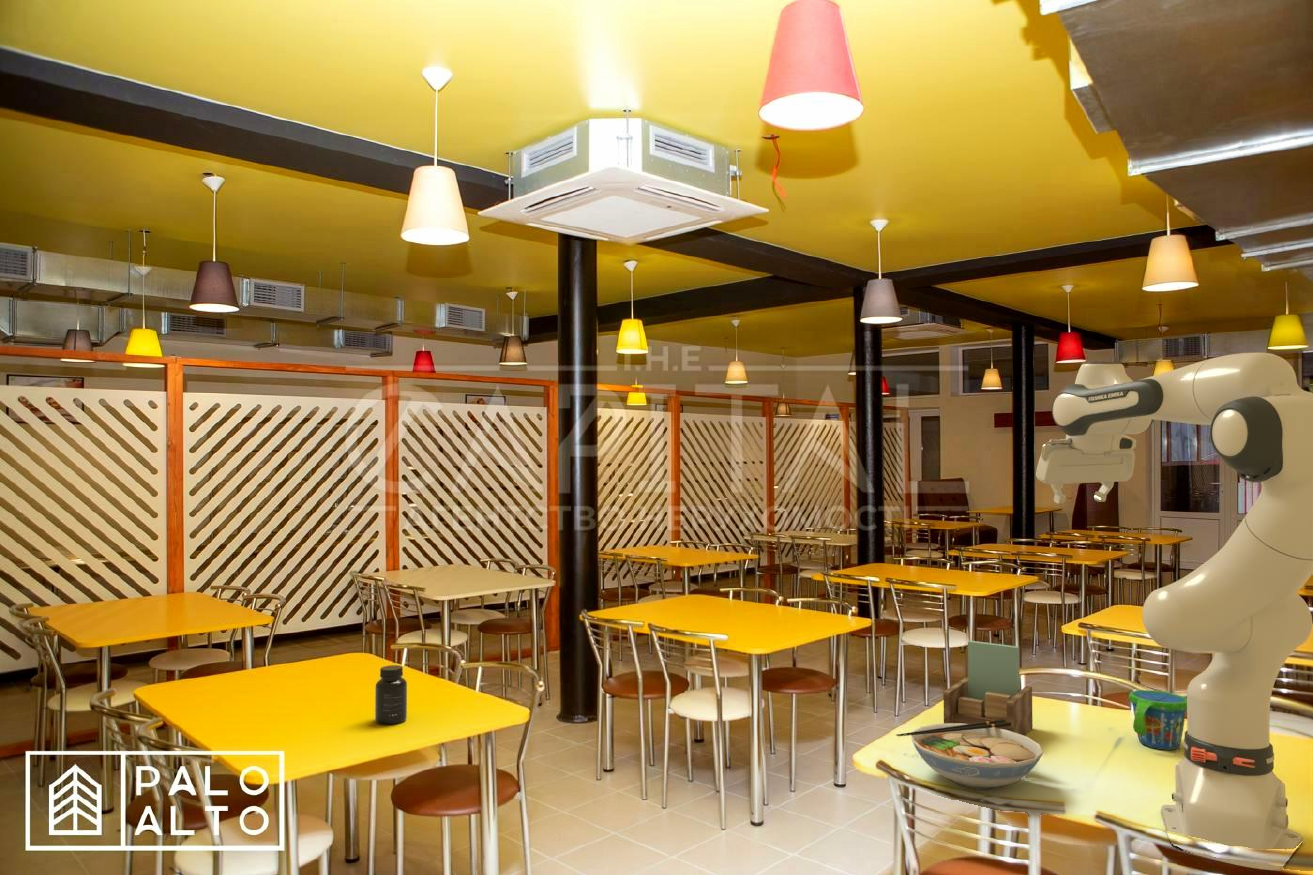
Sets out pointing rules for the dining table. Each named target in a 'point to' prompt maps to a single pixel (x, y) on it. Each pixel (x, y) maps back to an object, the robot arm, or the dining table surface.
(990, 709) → the tall oak offcut
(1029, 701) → the walnut rack
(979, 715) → the short oak offcut
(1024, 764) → the ramen bowl
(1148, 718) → the snack cup
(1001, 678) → the tall panel
